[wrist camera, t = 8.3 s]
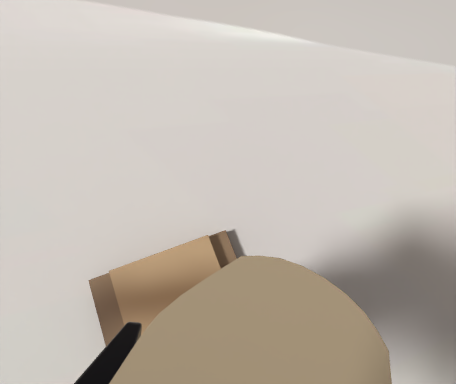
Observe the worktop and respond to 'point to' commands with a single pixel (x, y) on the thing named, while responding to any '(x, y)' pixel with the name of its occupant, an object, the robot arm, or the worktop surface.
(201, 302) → the handle
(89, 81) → the worktop surface
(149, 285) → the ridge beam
